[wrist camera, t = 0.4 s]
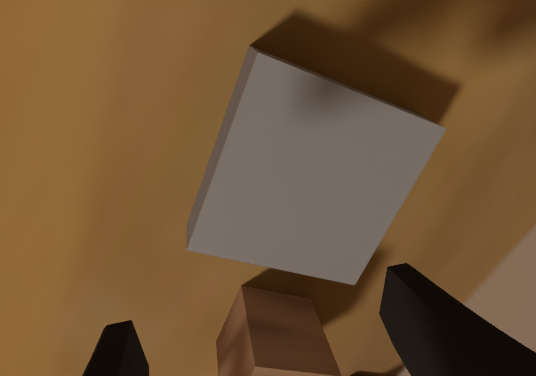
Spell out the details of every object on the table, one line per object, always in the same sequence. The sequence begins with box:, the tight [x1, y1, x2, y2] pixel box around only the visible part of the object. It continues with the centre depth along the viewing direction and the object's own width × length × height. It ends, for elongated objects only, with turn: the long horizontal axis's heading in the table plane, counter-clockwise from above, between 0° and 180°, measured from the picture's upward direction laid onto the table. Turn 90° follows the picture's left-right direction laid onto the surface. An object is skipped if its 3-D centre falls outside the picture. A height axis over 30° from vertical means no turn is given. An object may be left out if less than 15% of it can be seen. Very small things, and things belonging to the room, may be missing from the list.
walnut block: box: [216, 285, 341, 376], centre depth 23 cm, size 5×5×6 cm
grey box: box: [187, 45, 447, 285], centre depth 20 cm, size 10×10×3 cm
